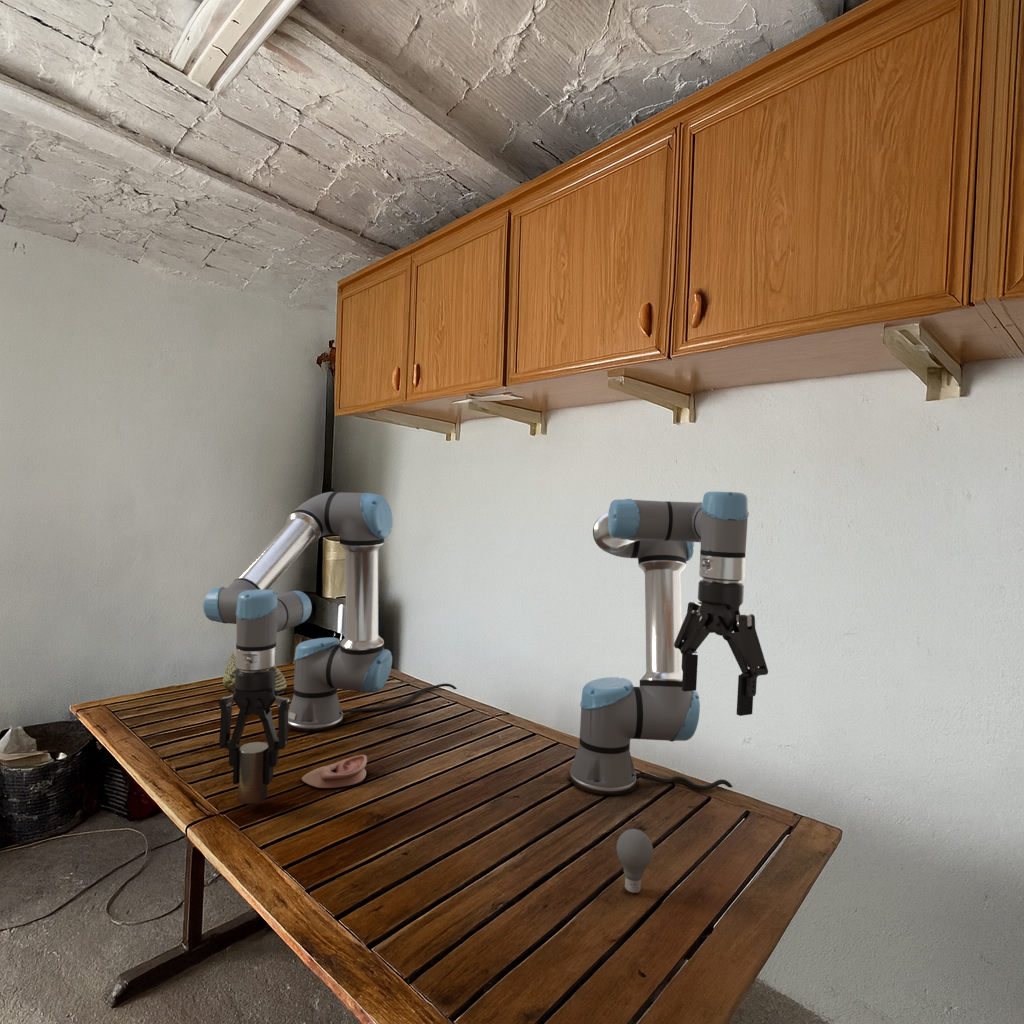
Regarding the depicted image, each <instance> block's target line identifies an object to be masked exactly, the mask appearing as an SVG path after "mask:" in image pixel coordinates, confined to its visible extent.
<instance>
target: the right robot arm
mask: <svg viewBox="0 0 1024 1024" xmlns="http://www.w3.org/2000/svg"><path fill="white" fill-rule="evenodd" d="M749 514H750V511H749V498H748V496H747V494H745V493H744V492H740V491H739V492H737V491H712V490H711V491H706V492H704V494H703V496H702V501H699V502H695V501H694V502H693V501H667V500H665V501H662V500H644V499H633V498H624V499H614V500H612V501H611V502H610V504H609V508H608V512H606V513H604V514H602V515H600V516H599V517H598V518H597V519H596V521H595V522H594V524H593V526H592V527H593V528H592V536H593V540H594V542H595V544H596V545H597V547H598V548H599V549H600V550H602V551H603V552H606V553H608V554H609V555H613V556H615V557H619V558H624V559H637V561H638V562H637V564H638V565H637V566H638V568H639V569H640V570H641V571H642V572H643V573H644V617H645V618H644V623H645V624H644V627H645V628H644V629H645V630H644V632H645V672H644V673H643V675H642V676H641V677H640V678H639V686H634V684H633V682H632V681H631V679H627V678H624V677H618V676H617V677H616V676H610V677H609V676H608V677H600V678H596V679H593V680H589V681H588V682H587V683H586V684H584V686H583V687H582V690H581V699H580V703H579V705H580V723H579V743H578V748H577V750H576V752H575V754H574V758H573V762H572V764H571V767H570V769H569V780H570V782H571V783H572V784H573V785H574V786H575V787H576V788H578V789H580V790H581V791H584V792H587V793H590V794H595V795H600V796H622V795H625V794H629V793H630V792H632V791H634V790H635V789H636V787H637V779H641V780H642V779H643V780H648V781H653V782H657V783H660V784H661V783H662V784H671V783H673V782H682V783H684V784H686V785H688V786H689V787H691V788H692V789H695V790H698V791H710V790H712V789H714V788H717V787H719V786H720V785H725V786H726V787H727V788H733V787H734V786H733V785H732V783H730V782H729V780H726V779H717V780H715V781H712V782H711V783H709V784H706V785H700V784H696V783H695V782H693V781H692V780H690V779H688V778H687V777H684V776H679V775H675V776H672V777H668V778H663V777H659V776H654V775H650V774H645V773H639V772H636V769H635V766H634V762H633V758H632V754H631V751H630V750H631V740H649V741H669V742H672V743H673V742H679V741H680V742H685V741H689V740H691V739H692V738H693V737H694V735H695V734H696V730H697V728H698V724H699V719H700V711H701V703H700V695H699V693H698V691H697V684H698V662H699V661H698V660H699V655H698V651H697V650H698V649H699V647H700V646H701V645H702V644H703V642H704V641H705V640H706V639H707V637H708V636H709V635H710V634H715V635H717V636H719V637H720V636H721V637H722V638H723V639H724V640H725V641H726V642H727V645H728V646H729V649H730V650H731V653H732V655H733V657H734V659H735V661H736V663H737V665H738V668H739V669H740V671H741V674H738V678H737V697H736V698H737V699H736V715H737V716H739V717H742V716H743V717H744V716H749V715H753V709H754V707H753V706H754V697H756V694H757V682H758V677H759V676H766V675H768V673H769V670H768V669H769V668H768V666H767V663H766V659H765V655H764V652H763V649H762V646H761V642H760V639H759V635H758V633H757V629H756V616H755V615H754V614H752V613H750V614H749V613H748V614H746V613H745V614H741V611H740V607H741V605H742V604H743V603H744V592H745V585H744V584H743V582H742V581H744V580H745V577H746V576H745V574H746V553H747V551H746V550H747V549H746V548H747V538H748V537H747V534H748V519H749V516H750V515H749ZM695 543H700V550H699V573H698V576H699V577H700V578H701V579H700V580H699V581H698V586H697V587H698V588H697V599H698V601H689V602H688V603H687V610H686V615H685V617H684V619H683V621H682V618H683V617H682V589H681V588H682V586H681V573H682V572H683V571H684V570H685V569H686V568H687V562H689V561H691V560H692V558H693V556H694V548H695Z"/></svg>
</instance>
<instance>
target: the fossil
mask: <svg viewBox="0 0 1024 1024" xmlns="http://www.w3.org/2000/svg"><path fill="white" fill-rule="evenodd" d="M273 667H274V668H275V669H276V677H275V690H276V692H277V695H281V694H284V693H285V691H286V689H287V687H288V686H287V680H286V678H285V676H284V674H283V673H282V672H281V669H279V668H278V667H277V665H275V666H273ZM236 671H237V668H236V649H235V650H233V651H232V653H231V656H230V657H229V659H228V660H227V663H226V666H225V668H224V671H223V675H222V676H223V677H222V685H223V687H224V688H225V690H226V691H228V693H229V696H231V695H233V694H234V692H235V672H236Z"/></svg>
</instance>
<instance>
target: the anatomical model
mask: <svg viewBox="0 0 1024 1024" xmlns="http://www.w3.org/2000/svg"><path fill="white" fill-rule="evenodd" d="M367 763H368V757H367V755H365V754H359V755H354V756H351V757H347V758H345V759H342V760H340V761H337V762H334V763H331V764H328V765H325V766H324V765H323V766H321V767H318V768H315V769H313V770H311V771H309V772H307V773H306V774H304V775H302V777H301V781H302V782H303V783H305V784H307V785H308V786H311V787H314V788H317V789H332V788H343V787H347V786H353V785H356V784H359V783H361V782H363V780H365V778H366V776H367V770H366V769H365V768H366V766H367Z"/></svg>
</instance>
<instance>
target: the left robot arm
mask: <svg viewBox="0 0 1024 1024" xmlns="http://www.w3.org/2000/svg"><path fill="white" fill-rule="evenodd" d="M392 528H393V512H392V509H391V506H390V503H389V502H388V500H387V499H386V498H385V496H383V495H381V494H377V493H371V492H346V491H345V492H343V491H342V492H341V491H327V492H323V493H320V494H317V495H315V496H313V497H311V498H309V499H308V500H306V501H305V502H303V503H302V504H300V505H299V506H298V507H296V508H295V509H294V510H293V511H292V512H291V513H290V514H289V515H288V516H287V517H286V519H285V525H284V526H283V527H282V529H281V530H279V532H278V533H277V534H276V535H275V536H274V537H273V538H272V539H271V540H270V541H269V543H268V544H266V546H265V547H264V548H263V549H262V550H261V551H260V552H259V553H258V554H257V555H256V556H255V558H254V559H252V561H250V563H249V564H248V565H247V566H246V567H245V568H244V569H243V570H242V571H241V572H240V573H239V574H238V575H237V576H236V577H235V579H234V580H233V581H232V582H231V583H230V584H229V585H228V586H227V587H224V586H220V587H214V588H212V589H210V590H209V591H208V592H207V593H206V595H205V597H204V599H203V603H202V605H203V606H202V608H203V613H204V615H205V617H206V618H207V619H208V620H209V621H211V622H216V623H221V624H225V625H226V624H231V625H236V643H235V650H236V668H237V671H236V672H235V692H234V694H233V695H231V696H230V695H224V696H223V697H221V698H220V699H219V700H218V707H219V709H220V725H219V738H218V739H219V741H218V747H219V748H220V749H226V750H227V751H228V765H229V767H232V768H233V770H232V771H233V772H232V785H238V781H239V748H240V747H241V746H240V744H241V739H242V736H243V733H244V729H245V727H246V723H247V720H248V717H249V716H251V715H254V716H258V718H259V720H260V721H261V724H262V728H263V731H264V735H265V739H266V742H267V744H268V746H269V749H268V750H267V752H266V754H265V785H268V786H269V785H270V784H271V782H272V781H273V780H274V768H276V766H277V765H278V764H279V751H280V750H284V749H285V748H286V746H287V745H288V744H289V730H291V731H294V732H295V731H296V732H301V733H316V732H325V731H329V730H332V729H335V728H337V727H339V726H340V725H342V723H343V722H344V714H346V713H347V714H348V713H361V712H375V711H381V710H382V711H383V710H387V709H393V708H398V707H400V706H401V707H402V706H403V705H406V704H408V703H409V702H410V701H412V700H413V699H414V698H415V697H417V696H419V695H420V694H422V693H424V692H427V691H430V690H435V689H439V688H442V687H448V688H452V689H453V690H457V689H458V688H457V687H456V686H455V685H453V684H451V683H439V684H436V685H432V686H433V687H432V686H428V687H424V688H422V689H421V688H420V689H419V690H418V691H417V692H415V693H413V694H412V695H411V696H410V697H408V698H407V699H405V700H402V701H400V702H397V703H393V704H388V705H383V706H375V707H364V708H362V707H361V708H349V709H346V708H345V709H342V706H341V702H340V699H339V695H338V690H344V691H345V690H346V691H353V692H359V693H378V692H379V691H381V690H382V689H383V688H384V686H385V685H386V683H387V682H388V679H389V677H390V674H391V670H392V665H393V654H392V652H391V651H390V650H389V649H387V648H385V641H384V638H382V637H381V636H380V635H379V550H380V548H381V547H382V546H383V545H384V544H385V539H386V538H388V537H389V536H390V535H391V533H392ZM324 536H339V546H341V547H342V548H343V549H344V550H345V551H344V552H345V553H344V554H345V636H344V638H343V639H342V640H341V641H340V639H339V638H338V637H318V638H313V639H307V640H304V641H302V642H299V643H298V644H297V645H296V647H295V652H294V653H295V654H294V659H293V661H294V672H293V695H292V696H293V697H292V699H291V697H290V696H286V697H283V696H281V695H279V694H277V692H276V690H275V677H276V669H275V668H274V667H273V666H275V665H276V664H277V633H279V632H281V631H285V630H287V629H290V628H295V627H297V626H299V625H300V624H303V623H305V622H306V621H307V620H308V619H309V618H310V616H311V614H312V609H313V607H312V602H311V599H310V597H309V596H308V595H307V594H306V593H305V592H303V591H300V590H288V591H286V592H276V590H275V591H274V590H272V588H273V587H274V586H275V585H276V584H277V582H278V581H279V580H280V579H281V578H282V577H283V576H284V575H285V573H286V572H287V571H288V569H290V568H291V566H292V565H293V564H294V563H295V562H296V561H297V559H298V558H299V557H300V556H301V554H302V553H303V552H304V551H305V550H306V549H307V548H308V546H309V545H310V544H311V545H312V544H314V543H317V542H318V541H319V539H320V538H322V537H324ZM276 666H277V665H276ZM234 703H235V705H236V706H237V708H238V709H239V711H238V714H237V720H236V723H235V726H234V729H233V731H231V730H232V715H233V714H232V713H233V705H234ZM274 703H276V708H277V709H278V712H277V729H278V731H277V730H276V726H275V723H274V719H273V716H272V715H273V714H272V713H273V712H272V706H273V704H274ZM231 732H232V735H231ZM277 732H278V733H277Z"/></svg>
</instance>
